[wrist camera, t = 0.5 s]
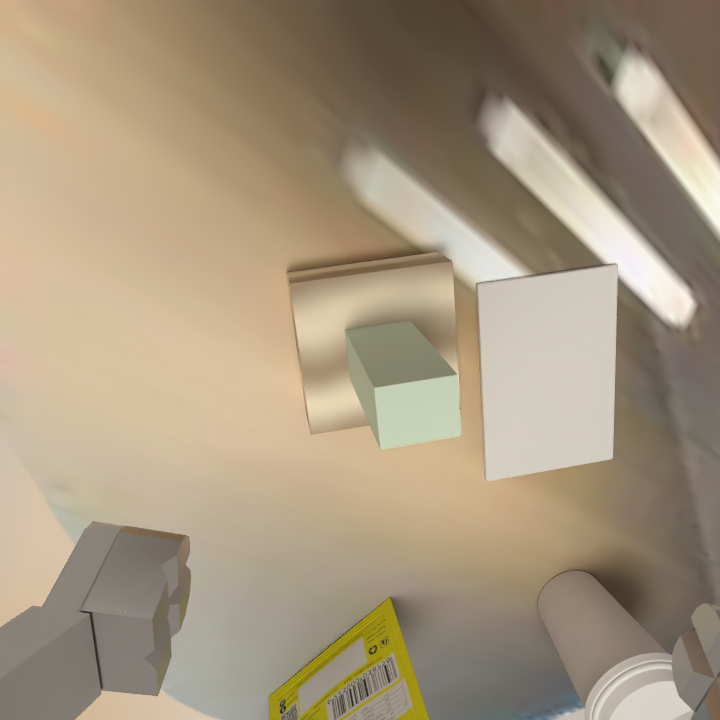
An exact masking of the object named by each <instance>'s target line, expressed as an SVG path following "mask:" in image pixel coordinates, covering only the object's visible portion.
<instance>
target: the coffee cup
mask: <svg viewBox="0 0 720 720" xmlns="http://www.w3.org/2000/svg"><path fill="white" fill-rule="evenodd" d="M538 611H539V613H540V615H541V618H542V620H543V622H544V624H545V626H546V628H547V630H548V632H549V634H550V636H551V639H552V641H553V643H554V645H555V647H556V649H557V651H558V653H559V655H560V657H561V660H562V662H563V664H564V666H565V668H566V670H567V672H568V674H569V676H570V678H571V681H572V683H573V685H574V687H575V689H576V691H577V693H578V695H579V698H580V700H581V702H582V704H583V706H584V708H585V711H584V716H585V720H690V719H691V717H692V714H693V712H694V711H693V710H692V709H691V708H690V707H689V706H688V705H687V704H686V703H685V702H684V701H683V700H682V699H681V698H680V697H679V695H678V692H677V689H676V686H675V683H674V679H673V672H672V658H673V655H670V654H668V653H667V652H666V651H665V650H664V649H663V648H662V647H661V646H660V645H659V644H658V643H657V642H656V641H655V640H654V639H653V638H652V637H651V636H650V635H649V634H648V633H647V631H646V630H645V629H644V628H643V627H642V626H641V625H640V624H639V623H638V622H637V621H636V620H635V619H634V618H633V617H632V616H631V615H630V614H629V613H628V612H627V611H626V610H625V609H624V608H623V607H622V606H621V605H620V604H619V603H618V602H617V601H616V600H615V599H614V598H613V596H612V595H611V594H610V593H609V592H608V591H607V590H606V589H605V588H604V587H603V586H602V585H601V584H600V583H599V582H598V581H597V580H596V579H595V578H594V577H593V576H592V575H590V574H589V573H586V572H583V571H567V572H564V573H561V574H559V575H557V576H555V577H554V578H552V579H551V580H550V581H549V582H548V583H547V584H546V585H545V586H544V587H543V589H542V591H541V593H540V595H539V598H538Z"/></svg>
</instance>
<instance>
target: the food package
mask: <svg viewBox="0 0 720 720" xmlns="http://www.w3.org/2000/svg"><path fill="white" fill-rule="evenodd" d="M269 719H270V720H429V717H428V714H427V711H426V708H425V705H424V701H423V698H422V695H421V692H420V689H419V686H418V683H417V680H416V676H415V673H414V670H413V667H412V664H411V661H410V658H409V655H408V651H407V648H406V645H405V642H404V639H403V636H402V633H401V630H400V627H399V623H398V620H397V617H396V614H395V611H394V608H393V604H392V601H391V598H388V599H387V600H386V601H385V602H383V603H382V604H381V605H380V606H378V607H377V608H376V609H375V610H374V611H373V612H371V613H370V614H369V615H368V616H367V617H365V618H364V619H363V620H362V621H361V622H359V623H358V624H357V625H356V626H354V627H353V628H352V629H351V630H350V631H348V632H347V633H346V634H345V635H343V636H342V637H341V638H340V639H339V640H337V641H336V642H335V643H334V644H332V645H331V646H330V647H329V648H328V649H326V650H325V651H324V652H323V653H322V654H320V655H319V656H318V657H317V658H315V659H314V660H313V661H312V662H311V663H309V664H308V665H307V666H306V667H304V668H303V669H302V670H301V671H300V672H298V673H297V674H296V675H295V676H294V677H292V678H291V679H290V680H289V681H288V682H286V683H285V684H284V685H282V686H281V687H280V688H279V689H277V690H276V691H275V692H274V693H272V694H271V695H270V696H269Z"/></svg>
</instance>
